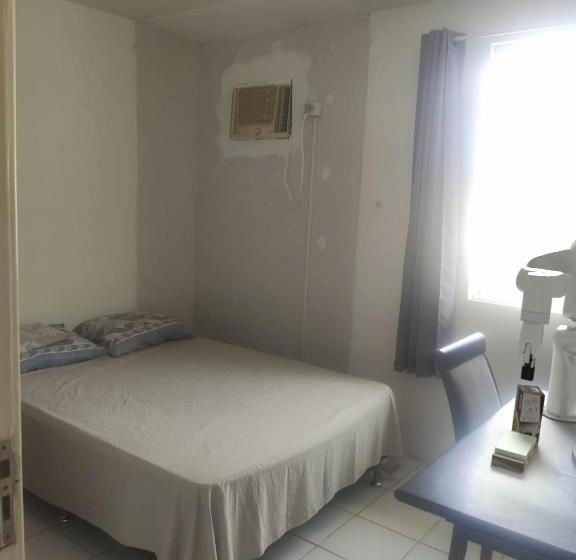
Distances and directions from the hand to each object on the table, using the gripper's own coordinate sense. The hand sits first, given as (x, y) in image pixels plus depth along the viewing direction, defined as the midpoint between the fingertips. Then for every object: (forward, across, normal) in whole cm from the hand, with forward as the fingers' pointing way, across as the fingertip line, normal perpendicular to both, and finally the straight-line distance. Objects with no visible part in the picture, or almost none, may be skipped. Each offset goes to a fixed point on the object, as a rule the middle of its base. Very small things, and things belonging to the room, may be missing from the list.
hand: (526, 379), depth 161 cm
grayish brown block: (+22, +6, 0) cm, 23 cm away
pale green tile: (+19, +4, 0) cm, 20 cm away
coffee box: (+22, -10, 0) cm, 24 cm away
